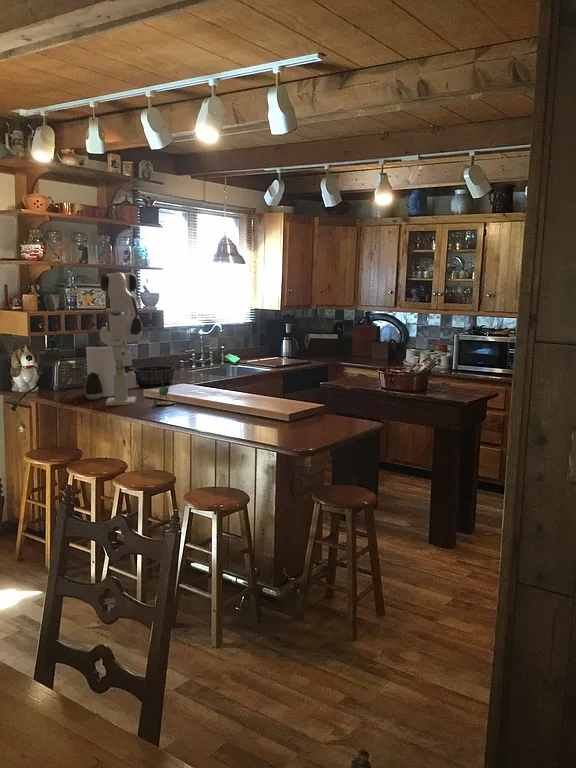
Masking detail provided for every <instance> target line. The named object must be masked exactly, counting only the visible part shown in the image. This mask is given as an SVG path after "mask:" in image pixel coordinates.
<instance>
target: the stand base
mask: <svg viewBox="0 0 576 768" xmlns="http://www.w3.org/2000/svg"><path fill="white" fill-rule="evenodd" d="M113 380H114V397H108V398H107V400H106V402H105V406H121V405H122V406H124V405H135V404H136V401H137V396H129V395H128V394H129V393H128V389H127V374H126V373H124V375H116V374H114V375H113Z"/></svg>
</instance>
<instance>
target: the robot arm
mask: <svg viewBox="0 0 576 768" xmlns="http://www.w3.org/2000/svg"><path fill="white" fill-rule="evenodd" d="M98 283H99V287H100V289H101V290H102V291H103V292H107V293H108V298H109V300H110V313H109V317H108V318H109V319H107V321H106V324H107V325H106V326H102V327H101V329H100V330H99V338H100V341H102V342H103V343H104V344H105V345H107V347H112V349H113V356H114V360H115V361H117V367H118V368H121V359H122V351H123V352H125V355H123V368H124V373H126V374H127V390H128V389H129V390H130V389H135V388H140V384H139V383H138V382H137V381H136V377H135V373H134V371H133V369H134V366H133V363H132V352H131V351H130V350H129V349H127V348H125V346H126V345H128V343H134V342H138V341H140V340H141V339H142V337H143V322H142V320H141V316H140V315H139V309H138V306H137V302H136V299H135V297H134V294H131V293H132V292H134V291H135V290H137V287H138V283H139V281H138V278H137V275H136V274H134V273H131V272H129V273H126V272H120V271H119V272H118V271H117V272H114V273H103V274H101V275H100V277H99V281H98Z"/></svg>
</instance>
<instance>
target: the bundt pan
mask: <svg viewBox="0 0 576 768" xmlns="http://www.w3.org/2000/svg"><path fill="white" fill-rule="evenodd" d="M132 371H133V372H134V373H135V377H136V383H137V384H139V385H144V386H148V385H151V386H154V385H156V386H158V385H162V382H161V380H163V383H164V385H165V384H168V383H171V382H172V380H173V378H174V373H175V372H174V371H175V367H174V366H169V365H148V366H141V367H140V366H139V367H133V370H132Z"/></svg>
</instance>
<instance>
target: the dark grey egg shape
mask: <svg viewBox="0 0 576 768" xmlns="http://www.w3.org/2000/svg"><path fill="white" fill-rule="evenodd" d="M83 392H84V395H85V397H86V398H87V399H88V400H90V401H91V400H92V401H96V400H99V399H101V398H102V397H101V396H102V393H103V388H102V384H101V381H100V378H99V375H97V374H96V373H94V372H92V373H90V374H89V375H88V374H87V376H86V379H85V382H84V390H83Z"/></svg>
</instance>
